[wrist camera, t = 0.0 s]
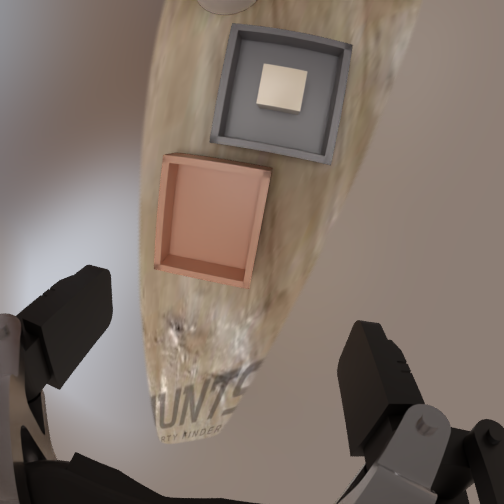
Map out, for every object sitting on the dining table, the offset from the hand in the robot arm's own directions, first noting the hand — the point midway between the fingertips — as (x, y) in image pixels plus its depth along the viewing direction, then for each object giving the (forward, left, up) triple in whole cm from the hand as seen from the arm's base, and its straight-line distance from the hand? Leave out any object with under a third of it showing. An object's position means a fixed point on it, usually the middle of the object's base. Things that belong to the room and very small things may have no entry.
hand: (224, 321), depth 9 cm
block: (-11, 0, -28) cm, 30 cm away
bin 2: (-11, 0, -29) cm, 31 cm away
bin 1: (+5, -6, -29) cm, 30 cm away
